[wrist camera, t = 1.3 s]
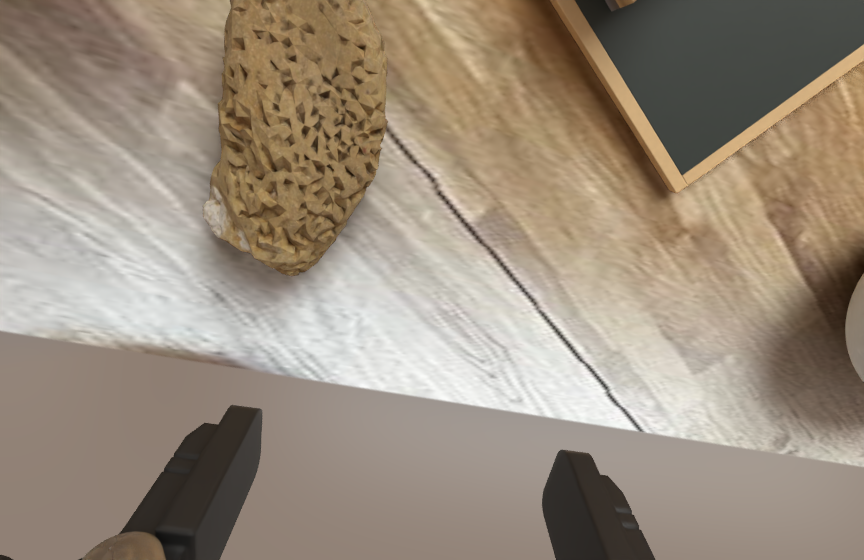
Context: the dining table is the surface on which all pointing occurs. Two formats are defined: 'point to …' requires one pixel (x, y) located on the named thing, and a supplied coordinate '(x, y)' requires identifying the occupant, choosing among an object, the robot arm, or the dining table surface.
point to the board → (712, 68)
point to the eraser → (618, 3)
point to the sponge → (296, 126)
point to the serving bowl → (856, 328)
